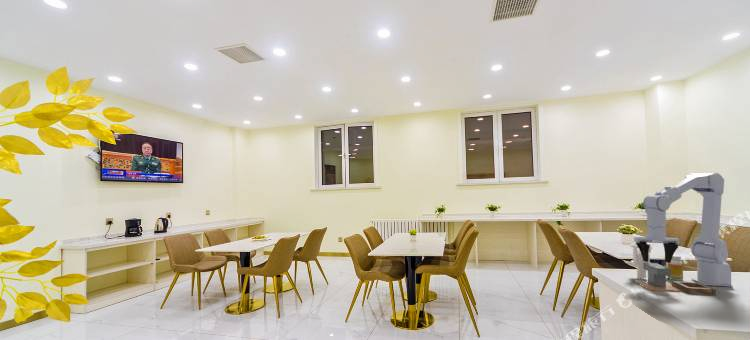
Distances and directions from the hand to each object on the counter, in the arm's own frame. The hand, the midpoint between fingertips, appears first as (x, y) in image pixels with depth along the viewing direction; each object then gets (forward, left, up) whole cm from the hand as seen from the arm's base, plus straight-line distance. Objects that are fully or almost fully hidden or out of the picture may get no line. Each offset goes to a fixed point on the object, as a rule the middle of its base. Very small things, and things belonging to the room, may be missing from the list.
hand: (656, 261), depth 137 cm
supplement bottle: (-14, -14, -10) cm, 22 cm away
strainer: (-1, -12, -10) cm, 15 cm away
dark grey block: (0, 0, -9) cm, 9 cm away
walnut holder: (-11, +2, -10) cm, 15 cm away
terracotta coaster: (0, 0, -10) cm, 10 cm away
